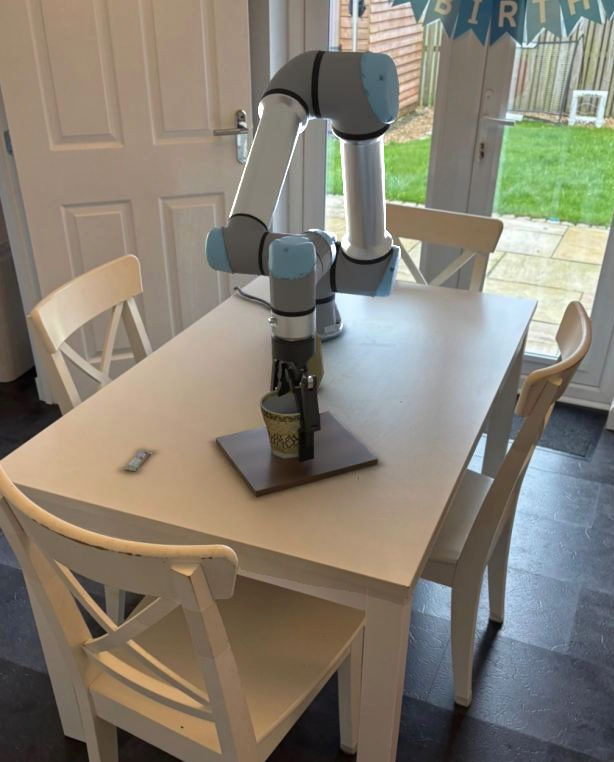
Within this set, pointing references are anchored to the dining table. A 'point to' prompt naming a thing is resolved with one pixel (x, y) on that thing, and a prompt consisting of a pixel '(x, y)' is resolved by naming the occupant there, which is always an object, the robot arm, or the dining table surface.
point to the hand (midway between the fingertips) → (294, 446)
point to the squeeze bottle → (316, 362)
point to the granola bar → (137, 460)
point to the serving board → (275, 473)
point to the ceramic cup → (281, 423)
